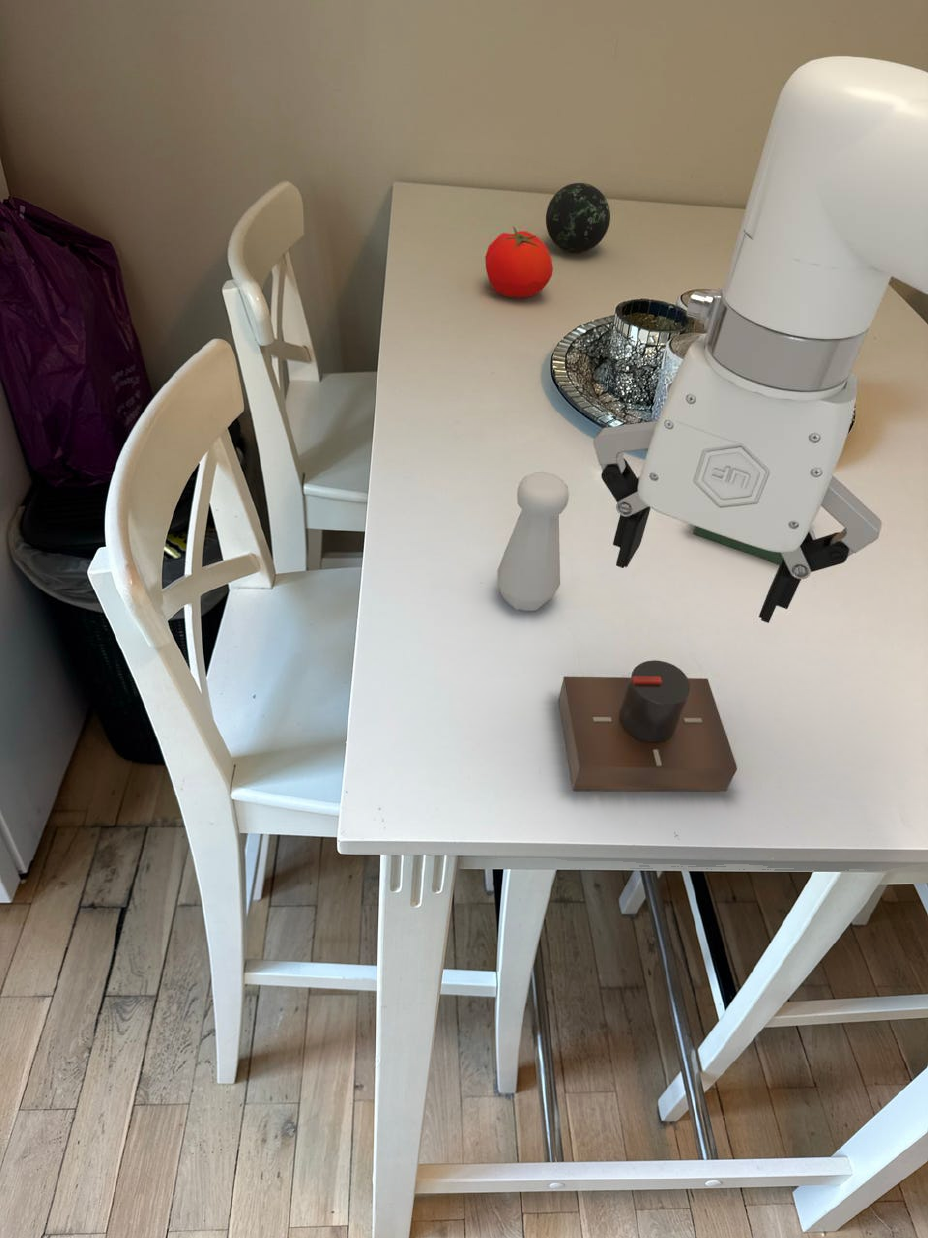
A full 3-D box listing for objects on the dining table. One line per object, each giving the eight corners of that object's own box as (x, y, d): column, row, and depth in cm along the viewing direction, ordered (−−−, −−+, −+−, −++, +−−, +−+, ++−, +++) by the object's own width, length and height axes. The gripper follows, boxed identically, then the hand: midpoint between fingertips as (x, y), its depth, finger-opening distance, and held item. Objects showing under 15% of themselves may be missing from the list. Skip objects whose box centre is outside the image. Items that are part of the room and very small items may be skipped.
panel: (698, 701, 74) (708, 676, 72) (726, 791, 68) (738, 767, 66) (557, 700, 73) (563, 674, 71) (573, 791, 67) (580, 766, 65)
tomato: (503, 272, 133) (509, 215, 127) (561, 293, 130) (570, 235, 124) (468, 291, 127) (473, 232, 122) (528, 314, 124) (537, 254, 118)
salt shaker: (557, 620, 80) (582, 506, 71) (494, 616, 80) (511, 500, 71) (553, 578, 84) (576, 464, 75) (494, 573, 84) (510, 459, 75)
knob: (668, 698, 70) (684, 657, 67) (681, 743, 67) (698, 702, 64) (614, 698, 70) (627, 656, 66) (624, 742, 67) (638, 701, 63)
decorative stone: (603, 241, 145) (615, 177, 138) (603, 266, 138) (616, 199, 131) (542, 234, 145) (551, 170, 138) (540, 258, 138) (549, 191, 131)
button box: (804, 525, 93) (818, 494, 90) (788, 567, 88) (802, 536, 85) (713, 494, 96) (723, 463, 93) (692, 533, 91) (703, 502, 88)
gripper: (604, 320, 46) (553, 567, 58) (948, 422, 41) (816, 668, 53) (649, 271, 51) (594, 508, 63) (961, 358, 46) (837, 596, 58)
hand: (696, 581), depth 58 cm, fingers open, 9 cm apart
